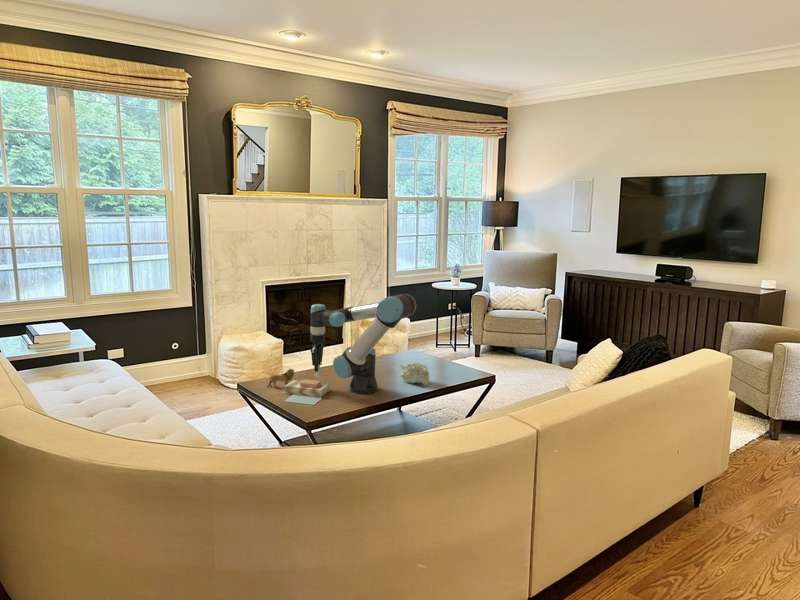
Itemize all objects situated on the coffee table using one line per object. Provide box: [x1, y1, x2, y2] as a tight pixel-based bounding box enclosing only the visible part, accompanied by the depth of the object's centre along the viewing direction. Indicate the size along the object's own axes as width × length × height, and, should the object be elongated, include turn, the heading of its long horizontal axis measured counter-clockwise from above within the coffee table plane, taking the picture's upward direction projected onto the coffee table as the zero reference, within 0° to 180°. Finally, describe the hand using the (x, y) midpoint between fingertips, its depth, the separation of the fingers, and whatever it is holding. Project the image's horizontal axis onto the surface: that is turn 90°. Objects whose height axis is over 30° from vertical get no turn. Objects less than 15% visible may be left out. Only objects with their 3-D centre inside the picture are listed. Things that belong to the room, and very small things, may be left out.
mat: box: [283, 394, 323, 406], centre depth 289 cm, size 16×11×1 cm
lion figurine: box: [266, 368, 295, 389], centre depth 309 cm, size 15×5×9 cm, turn 116°
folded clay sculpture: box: [399, 361, 430, 387], centre depth 321 cm, size 18×13×16 cm
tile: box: [300, 378, 322, 388], centre depth 299 cm, size 9×6×2 cm, turn 75°
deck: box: [284, 378, 331, 398], centre depth 301 cm, size 20×12×4 cm, turn 75°
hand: (317, 377), depth 308 cm, fingers closed
